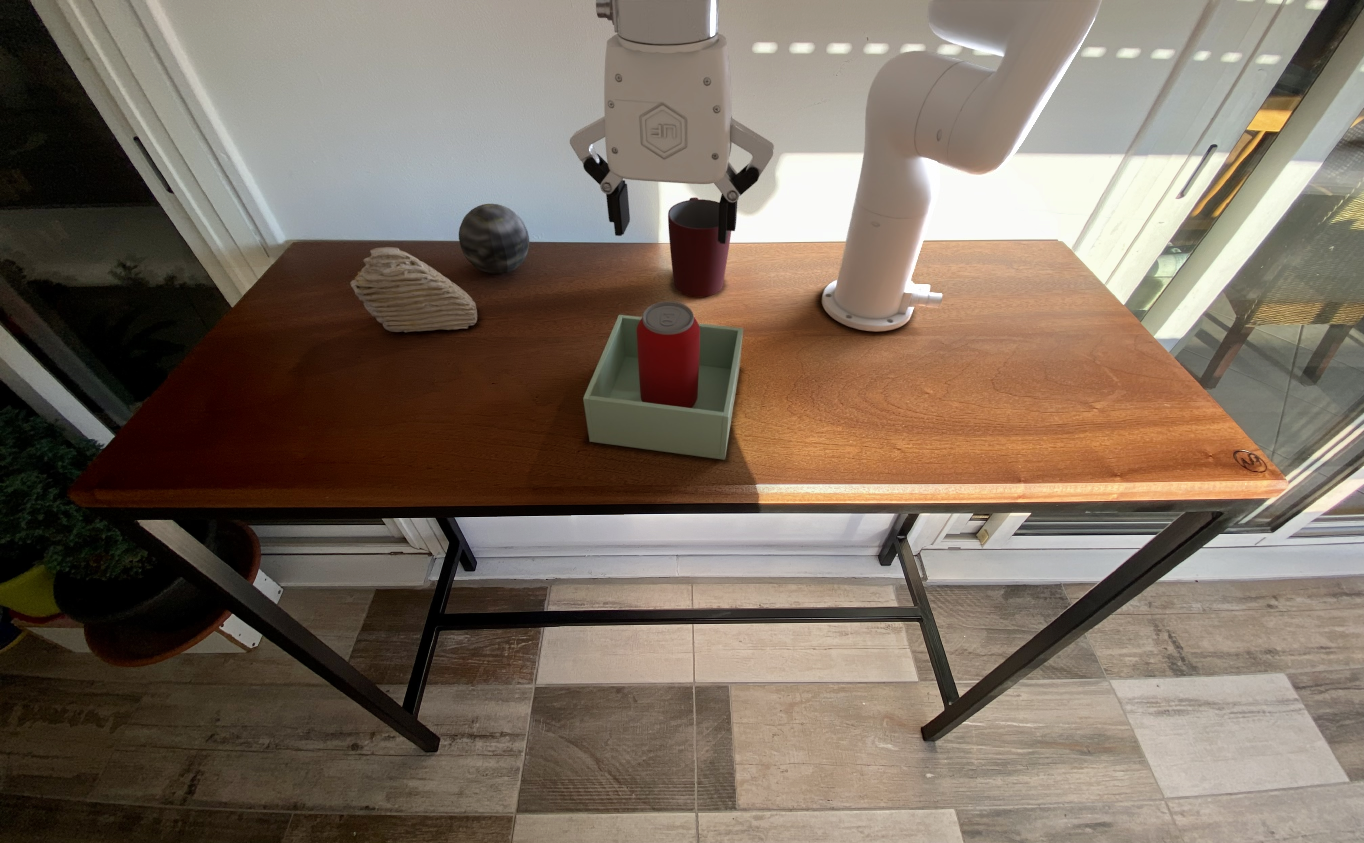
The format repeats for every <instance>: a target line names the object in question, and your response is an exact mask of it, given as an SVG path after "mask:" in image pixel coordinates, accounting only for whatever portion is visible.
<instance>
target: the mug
mask: <svg viewBox="0 0 1364 843" xmlns="http://www.w3.org/2000/svg"><path fill="white" fill-rule="evenodd" d="M719 202H720V201H717V200H711V199H699V198H698V197H690V198H689V199H688V200H687V199H686V200H683V201H680V202H677V203H675V204H673V205H672V206H671V207H670V208H669V210H668V211H667V212H668V213H667V225H668V239H669V249H670V260H671V270H672V280H673V287H674V288H675V289H676V290H677V292H679V293H681V294H682V295H686V296H688V297H693V298H694V297H695V298H704V297H711V296H713V295H715V294H718V293H719V292H720V291H721V290H722V288H723V287H724V281H725V275H726V268H727V263H728V256H729V249H730V243H731V237H732V231H728V236H727V240H726V244H720V242H718V221H719Z"/></svg>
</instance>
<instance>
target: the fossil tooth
mask: <svg viewBox="0 0 1364 843" xmlns="http://www.w3.org/2000/svg"><path fill="white" fill-rule="evenodd" d="M369 250H370V251H369V252H370V254H371V255H370V256H369V257H368V256H367V257H366V258H364V259H363V260H362V262H363V263H364V264H365V266H364V267H363V268H361V270H360V271H357V275H356V276H355V277H354V279H352V280H351V281H350V283H349V285H350V287H351V288H352V290H353V291H354V294H355V296H356V297H357V298H358V300H359V301H361V302H363V306H364V308H365V310H366V311H367V312H368V313H369V314H370V315H371V317H373V318H375V319H376V321H377V322H378V323H380V324H382V327H383V328H384V330H386V331H389V332H393V333H400V332H404V333H410V332H426V331H436V330H447V331H450V330H451V331H452V330H459V329H469V326H474V325H475V324H476V323H477V321H478V310H477V305H476V302H475V301H474V300H473V298H472V297H471V296H470V295H469V294H468V292H466V291H465V290H464V289H462V288H461V286H458V284H456V283H454V282H453V281H451V280H450V279H449V278H448V277H446V276H444V275H443V274H441V272H439V271H437V270H436V269H435V268H433V267H432V266H430V265H428V264H427V263H425V262H424V261H421V260H420V259H418V258H417V257H415V256H414V255H412V254H410V253H408V252H407V251H403V250H401V249H400V248H398V247H393V246H392V247H390V246H385V247H375V248H372V249H369Z"/></svg>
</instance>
